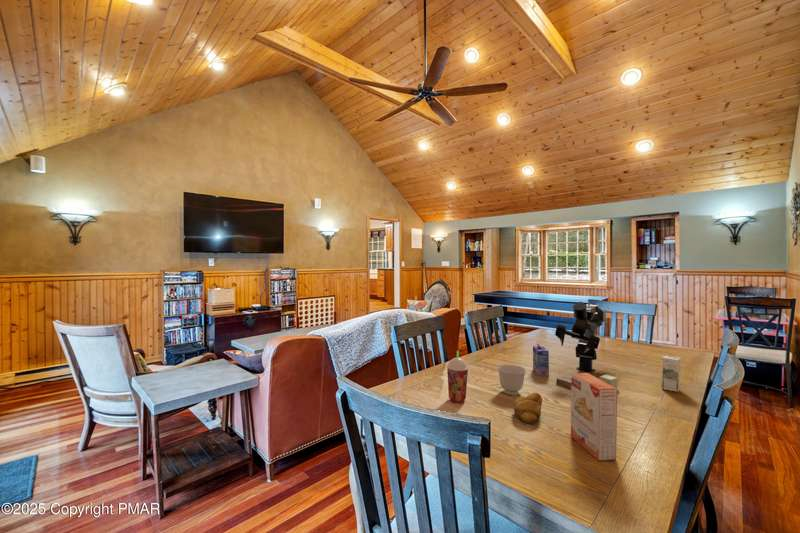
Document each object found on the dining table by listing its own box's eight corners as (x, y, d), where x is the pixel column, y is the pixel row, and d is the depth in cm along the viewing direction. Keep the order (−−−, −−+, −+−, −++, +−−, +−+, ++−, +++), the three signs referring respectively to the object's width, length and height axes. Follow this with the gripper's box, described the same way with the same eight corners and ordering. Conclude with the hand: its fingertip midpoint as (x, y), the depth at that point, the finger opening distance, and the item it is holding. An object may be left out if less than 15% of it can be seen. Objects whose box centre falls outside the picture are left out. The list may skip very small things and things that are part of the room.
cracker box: (569, 436, 114) (570, 372, 114) (587, 436, 115) (588, 372, 114) (596, 461, 100) (598, 388, 100) (617, 461, 101) (618, 388, 100)
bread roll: (539, 428, 120) (540, 404, 120) (509, 422, 124) (510, 399, 124) (542, 413, 132) (542, 391, 131) (515, 408, 136) (515, 387, 136)
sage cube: (605, 385, 161) (605, 374, 161) (617, 389, 157) (617, 377, 156) (599, 387, 158) (599, 376, 158) (610, 391, 154) (611, 379, 154)
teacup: (528, 387, 157) (528, 365, 157) (524, 399, 144) (525, 375, 143) (500, 383, 162) (500, 361, 162) (494, 394, 149) (494, 371, 149)
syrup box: (679, 389, 156) (680, 356, 156) (678, 393, 152) (679, 359, 151) (663, 386, 160) (664, 354, 160) (661, 389, 156) (662, 356, 155)
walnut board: (569, 380, 168) (569, 374, 168) (590, 387, 159) (590, 380, 159) (556, 384, 163) (556, 378, 162) (577, 391, 154) (577, 384, 154)
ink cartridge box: (531, 369, 183) (532, 341, 183) (543, 369, 183) (543, 341, 182) (537, 375, 173) (537, 346, 173) (549, 376, 173) (549, 346, 173)
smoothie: (469, 398, 145) (469, 349, 145) (466, 406, 137) (466, 354, 137) (448, 395, 148) (449, 347, 147) (444, 403, 140) (445, 352, 139)
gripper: (562, 308, 173) (553, 329, 163) (605, 320, 163) (598, 344, 153) (559, 324, 179) (550, 346, 169) (600, 337, 170) (593, 360, 160)
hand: (572, 348), depth 163 cm, fingers open, 9 cm apart
